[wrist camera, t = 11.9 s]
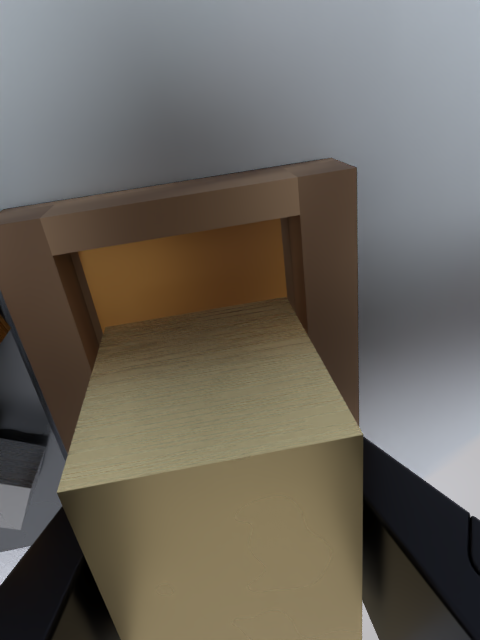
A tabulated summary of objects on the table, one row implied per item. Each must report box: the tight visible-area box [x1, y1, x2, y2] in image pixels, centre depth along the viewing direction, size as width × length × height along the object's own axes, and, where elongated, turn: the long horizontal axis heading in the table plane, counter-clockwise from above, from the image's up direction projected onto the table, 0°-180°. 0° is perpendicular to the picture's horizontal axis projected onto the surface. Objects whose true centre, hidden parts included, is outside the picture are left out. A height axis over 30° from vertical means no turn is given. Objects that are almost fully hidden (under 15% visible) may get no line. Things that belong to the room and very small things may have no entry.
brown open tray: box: [0, 158, 359, 454], centre depth 11 cm, size 7×9×2 cm
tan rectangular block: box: [57, 297, 363, 640], centre depth 8 cm, size 4×5×4 cm
